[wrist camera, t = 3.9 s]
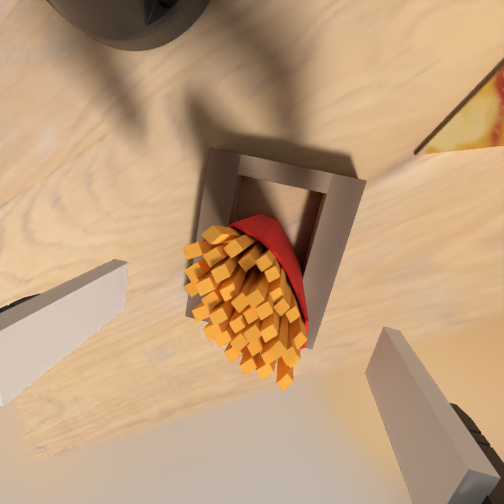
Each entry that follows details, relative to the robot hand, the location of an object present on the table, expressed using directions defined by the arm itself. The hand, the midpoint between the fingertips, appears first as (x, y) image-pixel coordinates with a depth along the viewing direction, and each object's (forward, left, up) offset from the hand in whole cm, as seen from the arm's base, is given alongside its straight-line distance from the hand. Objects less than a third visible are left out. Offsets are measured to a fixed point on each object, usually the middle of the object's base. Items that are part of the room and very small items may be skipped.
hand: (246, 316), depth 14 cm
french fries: (0, 0, -12) cm, 12 cm away
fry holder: (0, 0, -12) cm, 12 cm away
